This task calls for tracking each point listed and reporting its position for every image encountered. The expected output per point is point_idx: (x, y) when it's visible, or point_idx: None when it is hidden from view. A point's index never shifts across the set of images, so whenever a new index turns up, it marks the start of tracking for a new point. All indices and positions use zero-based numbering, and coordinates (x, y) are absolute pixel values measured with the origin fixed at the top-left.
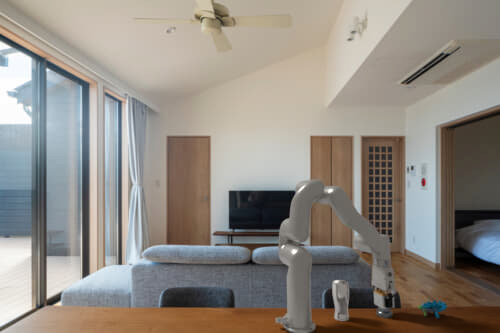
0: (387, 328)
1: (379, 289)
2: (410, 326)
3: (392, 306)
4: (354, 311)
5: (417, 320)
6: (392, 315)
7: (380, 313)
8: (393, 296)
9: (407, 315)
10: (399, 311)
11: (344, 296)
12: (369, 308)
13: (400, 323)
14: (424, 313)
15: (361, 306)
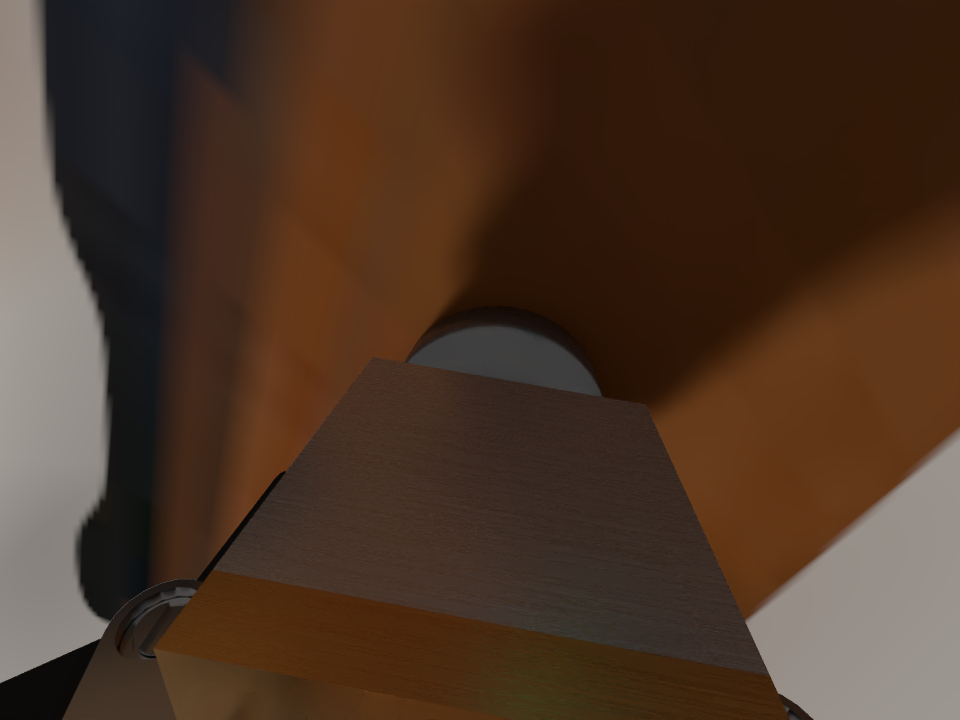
0: (754, 614)
1: (133, 712)
2: (920, 398)
3: None
4: None
5: (922, 85)
6: (588, 362)
7: None
8: (736, 629)
9: (672, 54)
10: (465, 28)
11: None
12: (244, 391)
13: (777, 430)
14: None
15: (167, 425)
